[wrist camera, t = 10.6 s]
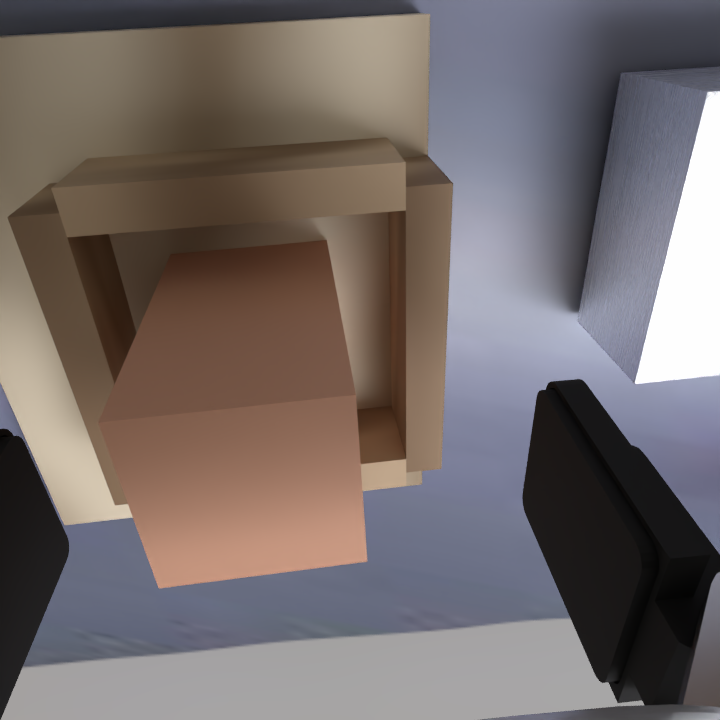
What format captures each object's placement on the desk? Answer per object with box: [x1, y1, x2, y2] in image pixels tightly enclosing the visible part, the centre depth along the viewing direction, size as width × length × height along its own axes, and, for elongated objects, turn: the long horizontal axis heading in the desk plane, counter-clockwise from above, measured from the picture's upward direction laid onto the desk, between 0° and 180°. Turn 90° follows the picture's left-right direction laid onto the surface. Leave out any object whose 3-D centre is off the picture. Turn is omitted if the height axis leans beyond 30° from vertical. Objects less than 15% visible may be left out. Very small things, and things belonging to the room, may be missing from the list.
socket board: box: [0, 13, 453, 525], centre depth 15 cm, size 12×14×4 cm
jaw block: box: [98, 240, 367, 588], centre depth 13 cm, size 4×4×7 cm
